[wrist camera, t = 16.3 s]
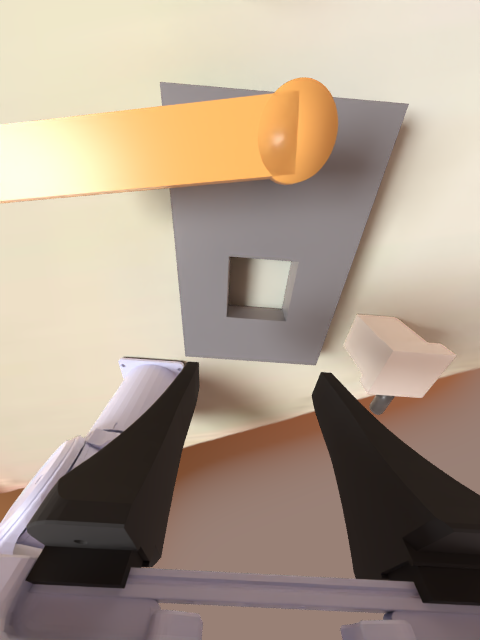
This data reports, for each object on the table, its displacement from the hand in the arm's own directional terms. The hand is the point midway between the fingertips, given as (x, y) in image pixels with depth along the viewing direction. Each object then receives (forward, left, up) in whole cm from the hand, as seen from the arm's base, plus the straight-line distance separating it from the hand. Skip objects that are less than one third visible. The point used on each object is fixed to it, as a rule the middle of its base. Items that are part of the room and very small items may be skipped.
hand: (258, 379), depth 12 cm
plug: (-4, -13, -10) cm, 17 cm away
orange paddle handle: (+10, +6, -3) cm, 13 cm away
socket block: (+4, 0, -10) cm, 11 cm away
